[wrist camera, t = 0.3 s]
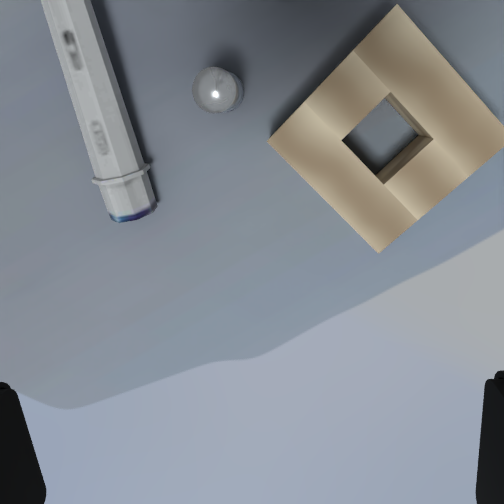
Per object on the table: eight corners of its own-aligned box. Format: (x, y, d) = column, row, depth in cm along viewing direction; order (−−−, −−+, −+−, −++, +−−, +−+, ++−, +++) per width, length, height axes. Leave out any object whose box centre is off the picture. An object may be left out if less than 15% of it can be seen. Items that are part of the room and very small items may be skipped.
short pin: (224, 63, 34) (212, 56, 29) (251, 91, 35) (244, 89, 30) (198, 92, 35) (183, 91, 30) (226, 119, 35) (215, 122, 31)
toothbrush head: (95, 227, 36) (-56, -172, 25) (123, 200, 42) (10, -132, 31) (157, 217, 35) (27, -199, 24) (175, 190, 41) (78, -153, 30)
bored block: (385, 15, 32) (397, 3, 28) (489, 134, 34) (514, 137, 30) (270, 137, 36) (266, 141, 32) (370, 238, 37) (378, 253, 34)
